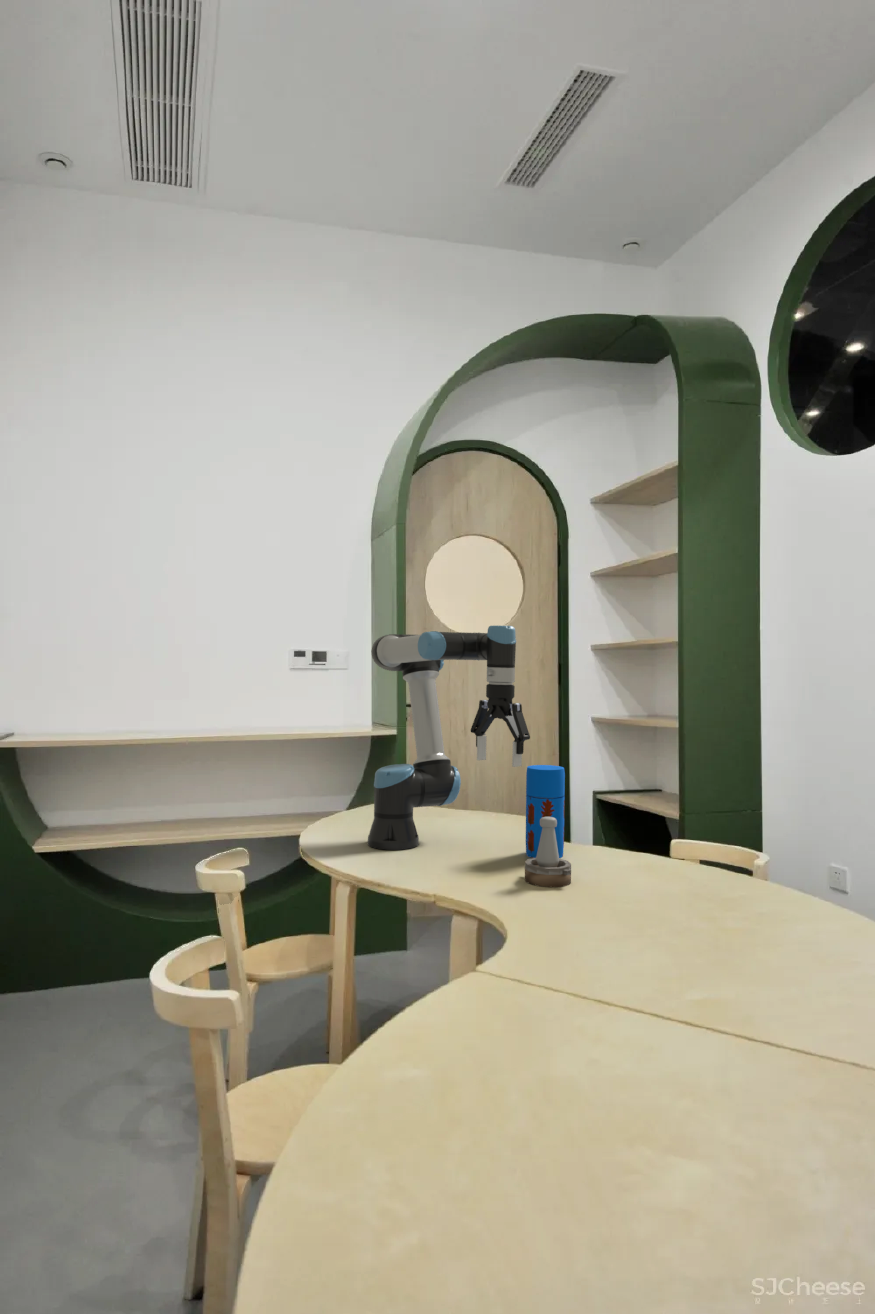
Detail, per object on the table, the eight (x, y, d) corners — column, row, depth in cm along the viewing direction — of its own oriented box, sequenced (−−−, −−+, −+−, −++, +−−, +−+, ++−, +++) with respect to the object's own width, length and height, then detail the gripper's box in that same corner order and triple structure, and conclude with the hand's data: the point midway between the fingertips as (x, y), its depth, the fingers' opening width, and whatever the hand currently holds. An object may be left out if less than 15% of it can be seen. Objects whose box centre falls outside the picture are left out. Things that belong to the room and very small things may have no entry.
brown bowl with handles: (511, 878, 209) (511, 860, 209) (543, 871, 217) (543, 854, 217) (552, 891, 198) (553, 872, 198) (584, 883, 206) (584, 865, 206)
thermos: (565, 860, 229) (567, 770, 229) (527, 859, 229) (528, 769, 229) (560, 850, 240) (561, 765, 240) (524, 850, 240) (525, 764, 240)
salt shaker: (535, 870, 205) (535, 818, 205) (536, 865, 211) (537, 814, 211) (558, 872, 204) (559, 820, 204) (559, 866, 210) (560, 815, 210)
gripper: (459, 681, 226) (457, 758, 226) (524, 686, 207) (522, 770, 207) (479, 680, 231) (477, 756, 231) (544, 685, 212) (542, 768, 212)
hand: (498, 763), depth 219 cm, fingers open, 13 cm apart
